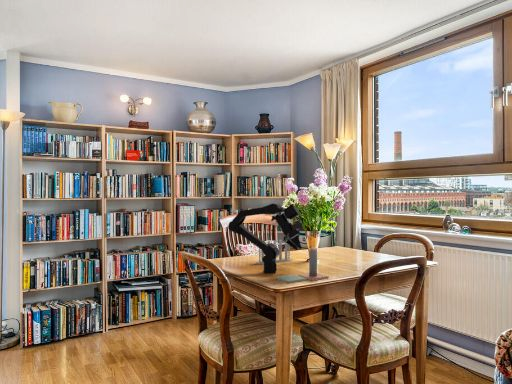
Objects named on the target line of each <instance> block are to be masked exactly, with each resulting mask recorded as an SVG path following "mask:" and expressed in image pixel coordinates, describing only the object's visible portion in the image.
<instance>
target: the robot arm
mask: <svg viewBox="0 0 512 384" xmlns="http://www.w3.org/2000/svg"><path fill="white" fill-rule="evenodd" d="M300 214H301V213H300V211H299V209H298V208H297V207H296V205H295V204H294V203H291V204H289V206H287V207H282V206H281V204H280V203H277V202H275V203H270V204H267V205H265V206H263V207H257V208H250V209H241V210H239V212H238V214H236V215H235V217H233V219H232V220H231V221H229V223H228V225H227V227H228V230H230V232H232V233H233V234H234V233H235V234H238V235H241V236H242V237H244V238H245V239H246V240H248V242H250V243H251V244H253V245H255V246H256V247H257V248H258V249H259V248H260V251H261V250H262V251H263V253H264V257H263V258H262V260H263V262H264V264H263V271H262V272H263V274H276V273H277V262H275V260H277V258H279V253H280V252H279V247H278V245H276V246H275V245H274V244H273V242H270V244H267V242H265V241H264V240H263V239H261V238H260V237H258V236H257V235H255V234H254V233H253V232H251V231H250V230H249V229H247V228H246V226H245V224H244V222H245V220H246V218H247V217H250V216H251V217H252V216H258V215H272V216H271V220H270V221H271V222H274V221H275V222H276V224H277V226H278V227H279V230H280V231H281V232H282V234H283V236H282V242H283V243H287V244H288V245H290V247H291V248H292V249H294V250H295V251H298V250H301V249H302V244H301V242H300V233H301V230H303V229H304V227H303V222H299V223H298V222H296V223H295V222H294V223H293V224H292V223H291V222H290V221H289V220H293V219H295V218H297V217H298V216H300ZM285 241H286V242H285Z"/></svg>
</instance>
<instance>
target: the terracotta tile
mask: <svg viewBox="0 0 512 384" xmlns="http://www.w3.org/2000/svg"><path fill="white" fill-rule="evenodd" d="M297 276H300V277H303V278H306V280H308V281H312V282H313V281H318V280H324V279H329V277H330V276H329V275H327V274H323V273H319V272H317V276H309V272H306V273H300V274H298V275H297Z"/></svg>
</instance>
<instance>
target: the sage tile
mask: <svg viewBox="0 0 512 384" xmlns="http://www.w3.org/2000/svg"><path fill="white" fill-rule="evenodd" d="M275 280H279V281H280V282H281V281H282V282H283V283H287V284H292V283H298V282H305V281H307V279H306V278H303V277H300V276H298V275H296V274H285V275H279V276H275Z"/></svg>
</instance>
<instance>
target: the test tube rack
mask: <svg viewBox="0 0 512 384" xmlns="http://www.w3.org/2000/svg"><path fill="white" fill-rule="evenodd" d="M278 241H279V242H277V240H273V241H272V243H273V244H274V245H275V246H279V247H278V249H279V252H280V253H279V256H278V259H276V260H275V263H281V262H282V263H283V262H290V261H293V260H294V259H293V258H290V257H291V256H290V255H291V254H290V252H291V251H290V249H291V248H290V247H291V246H290V245H288V244H287V243H285V242H286V241H285V242H283V239H279V240H278ZM266 243H267V244H270V243H271V241H270V240H267V242H266ZM283 246H284V258H283ZM264 256H265V254H264V253H263V251H262V250H261V249H260V248H258V261H255V264H258V265H264V262H263V260H262V258H263V257H264Z"/></svg>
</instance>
